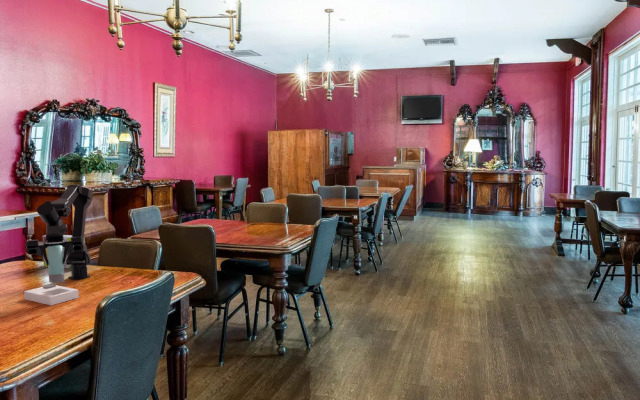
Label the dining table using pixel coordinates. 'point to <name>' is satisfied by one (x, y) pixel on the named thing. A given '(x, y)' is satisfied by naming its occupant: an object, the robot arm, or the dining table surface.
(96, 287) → the dining table surface
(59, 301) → the socket plate
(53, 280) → the plug
